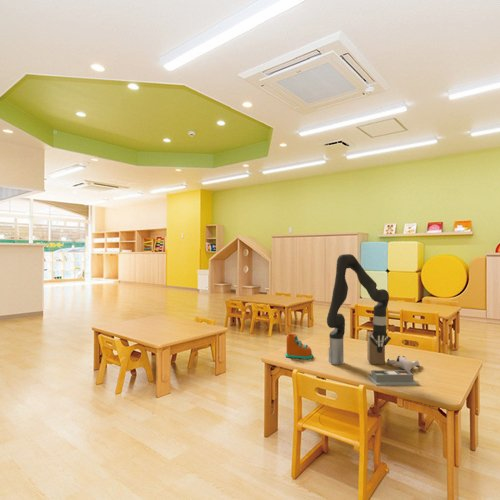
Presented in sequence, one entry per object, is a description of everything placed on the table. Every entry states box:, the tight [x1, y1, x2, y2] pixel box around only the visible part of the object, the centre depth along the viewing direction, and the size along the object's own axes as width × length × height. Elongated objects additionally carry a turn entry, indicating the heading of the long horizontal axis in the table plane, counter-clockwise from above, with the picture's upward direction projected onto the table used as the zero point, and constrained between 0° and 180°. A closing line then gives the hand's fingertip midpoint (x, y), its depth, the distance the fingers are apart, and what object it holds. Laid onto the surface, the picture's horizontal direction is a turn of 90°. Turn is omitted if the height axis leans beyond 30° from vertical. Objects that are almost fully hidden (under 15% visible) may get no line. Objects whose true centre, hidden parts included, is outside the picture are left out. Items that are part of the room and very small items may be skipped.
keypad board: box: [366, 369, 419, 387], centre depth 199 cm, size 24×14×5 cm, turn 91°
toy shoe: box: [285, 333, 314, 360], centre depth 245 cm, size 12×20×15 cm, turn 74°
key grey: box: [386, 371, 397, 375], centre depth 199 cm, size 5×5×2 cm
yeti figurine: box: [386, 355, 420, 373], centre depth 222 cm, size 20×7×20 cm
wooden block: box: [366, 331, 386, 366], centre depth 231 cm, size 10×10×20 cm
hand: (379, 352), depth 200 cm, fingers closed
